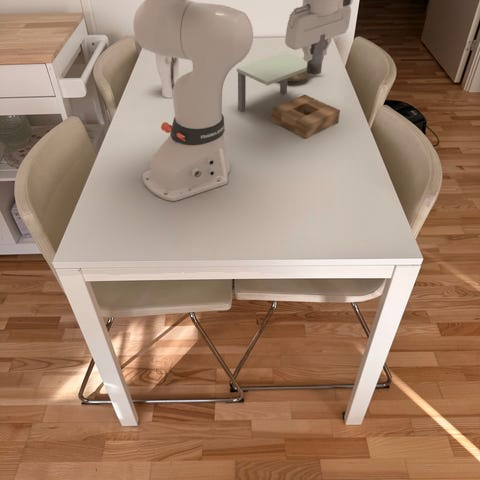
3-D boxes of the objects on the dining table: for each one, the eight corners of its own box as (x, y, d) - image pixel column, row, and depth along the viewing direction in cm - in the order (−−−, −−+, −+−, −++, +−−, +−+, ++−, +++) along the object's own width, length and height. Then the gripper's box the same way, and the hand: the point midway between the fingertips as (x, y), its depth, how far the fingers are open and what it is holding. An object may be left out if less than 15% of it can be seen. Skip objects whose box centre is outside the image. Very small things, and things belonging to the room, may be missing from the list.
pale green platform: (266, 125, 134) (267, 82, 125) (237, 109, 141) (236, 68, 132) (312, 104, 143) (316, 63, 134) (283, 91, 150) (285, 51, 142)
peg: (314, 75, 121) (318, 36, 114) (303, 71, 123) (306, 32, 116) (324, 71, 123) (328, 33, 116) (313, 67, 125) (317, 29, 118)
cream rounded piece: (179, 88, 153) (174, 42, 143) (183, 97, 148) (179, 49, 138) (158, 91, 151) (152, 44, 141) (162, 100, 146) (156, 52, 136)
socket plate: (305, 138, 128) (306, 125, 125) (271, 120, 136) (271, 108, 133) (338, 122, 134) (340, 110, 132) (303, 106, 142) (304, 94, 140)
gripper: (300, 12, 104) (295, 72, 114) (357, -5, 114) (349, 51, 123) (281, 6, 108) (278, 64, 117) (338, -10, 118) (331, 45, 127)
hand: (315, 57), depth 121 cm, fingers closed on peg, 4 cm apart
